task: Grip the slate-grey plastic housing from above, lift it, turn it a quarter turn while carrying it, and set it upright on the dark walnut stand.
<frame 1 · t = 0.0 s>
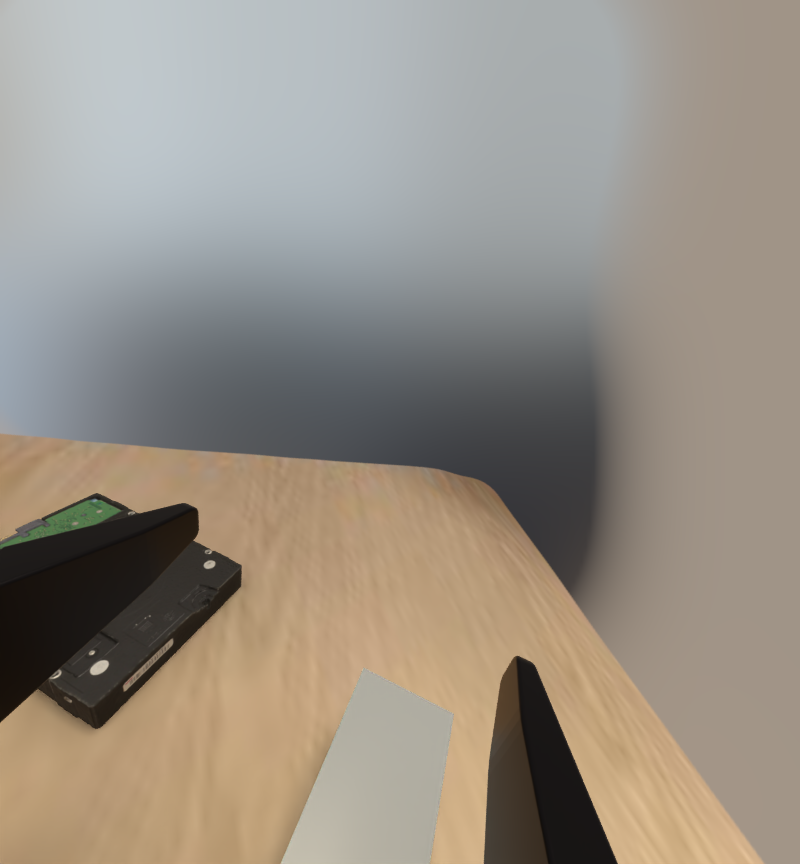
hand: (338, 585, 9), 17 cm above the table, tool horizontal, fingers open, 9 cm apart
disk drive: (101, 600, 24), on the table
housing: (349, 852, 16), on the table
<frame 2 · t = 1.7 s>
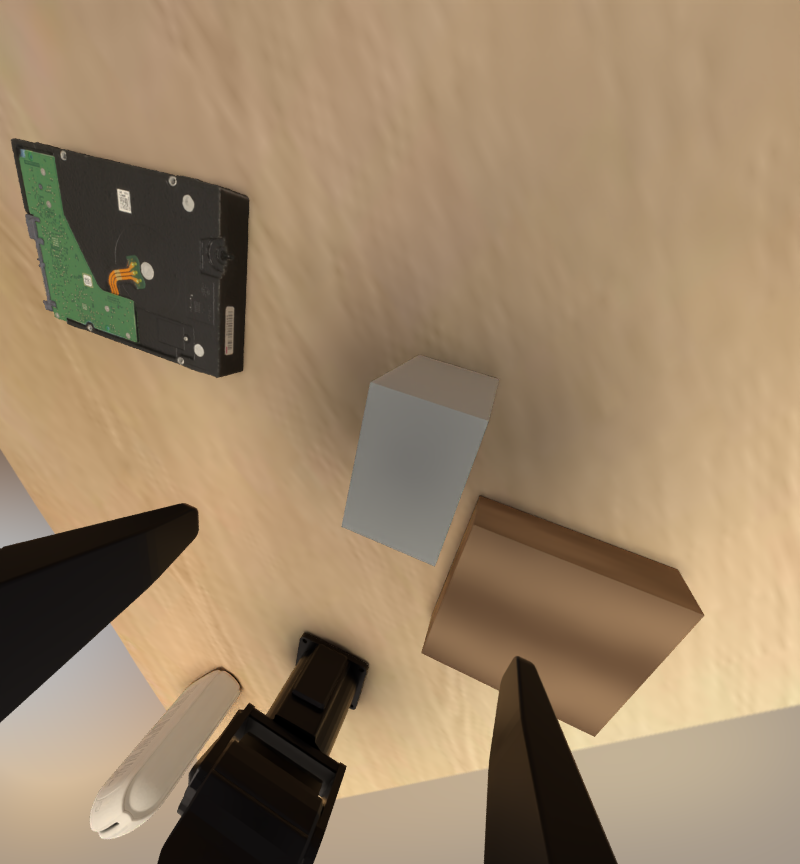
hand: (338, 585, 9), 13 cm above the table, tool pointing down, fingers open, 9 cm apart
photo printer: (216, 685, 40), on the table
disk drive: (161, 266, 23), on the table
housing: (440, 424, 20), on the table
stand: (535, 596, 22), on the table
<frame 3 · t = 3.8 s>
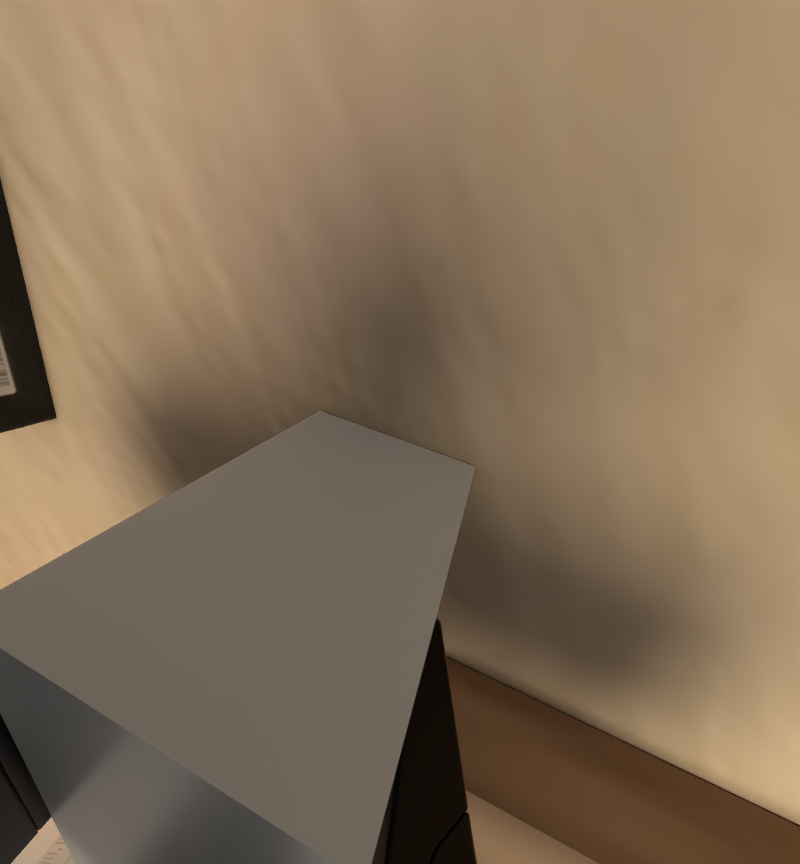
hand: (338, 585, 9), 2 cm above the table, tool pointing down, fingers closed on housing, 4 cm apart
photo printer: (126, 801, 31), on the table
housing: (369, 536, 11), on the table, touching gripper
stand: (546, 815, 13), on the table
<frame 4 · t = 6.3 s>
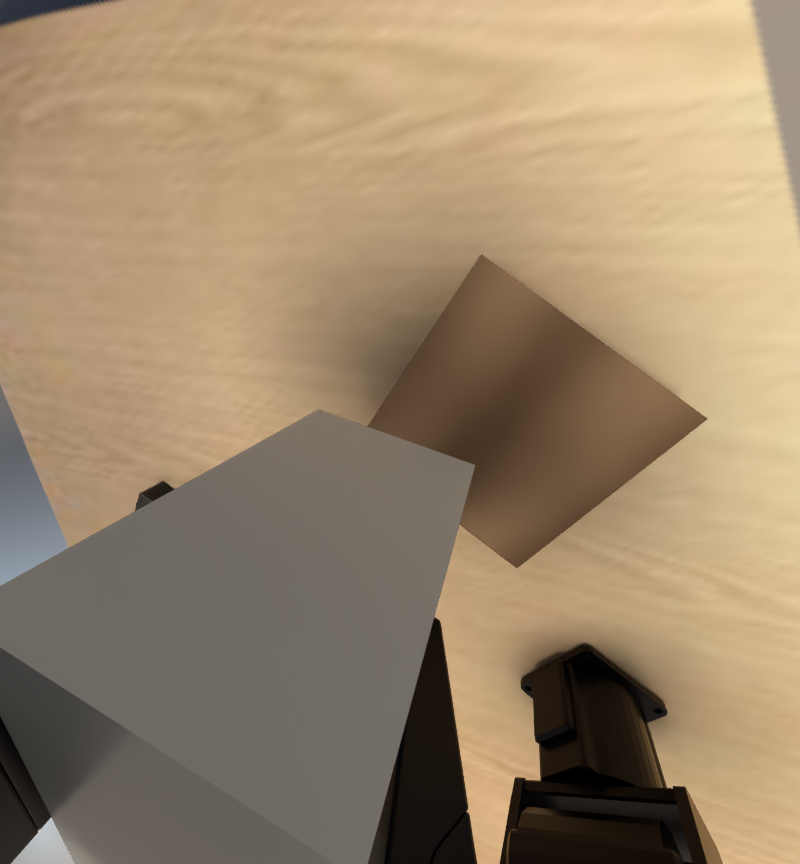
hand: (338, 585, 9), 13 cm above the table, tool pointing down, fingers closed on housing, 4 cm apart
disk drive: (196, 557, 34), on the table
housing: (369, 535, 11), point 11 cm above the table, touching gripper
stand: (504, 414, 19), on the table
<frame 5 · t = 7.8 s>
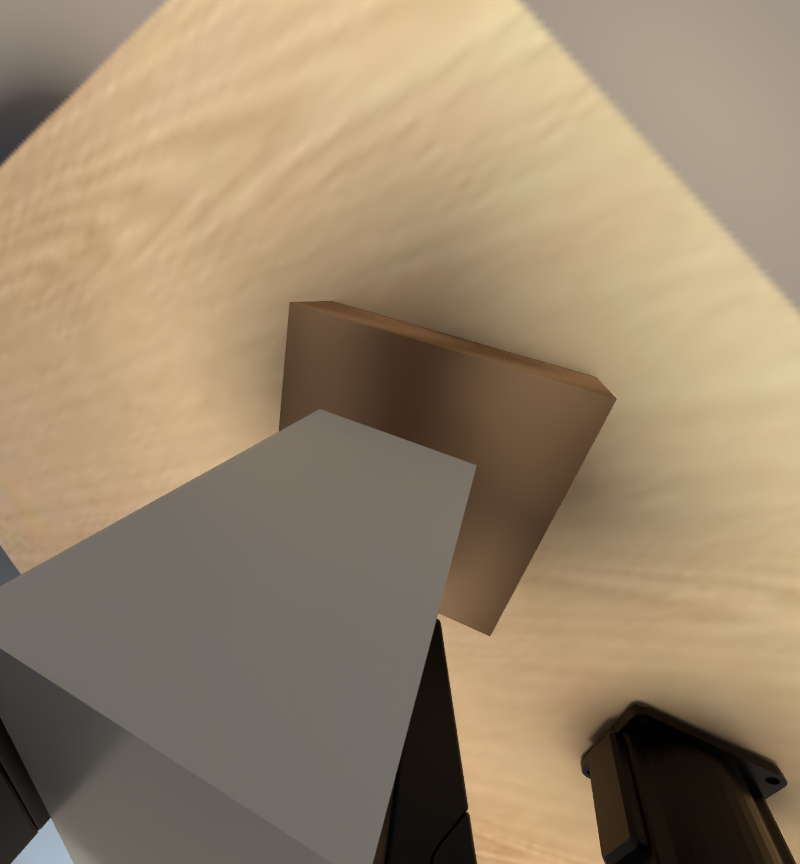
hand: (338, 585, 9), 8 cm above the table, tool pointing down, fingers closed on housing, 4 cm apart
housing: (369, 535, 11), point 6 cm above the table, touching gripper
stand: (419, 453, 16), on the table
when the fingers open (6 cm above the table, at t = 9.0 s): housing drops 1 cm, resting on stand.
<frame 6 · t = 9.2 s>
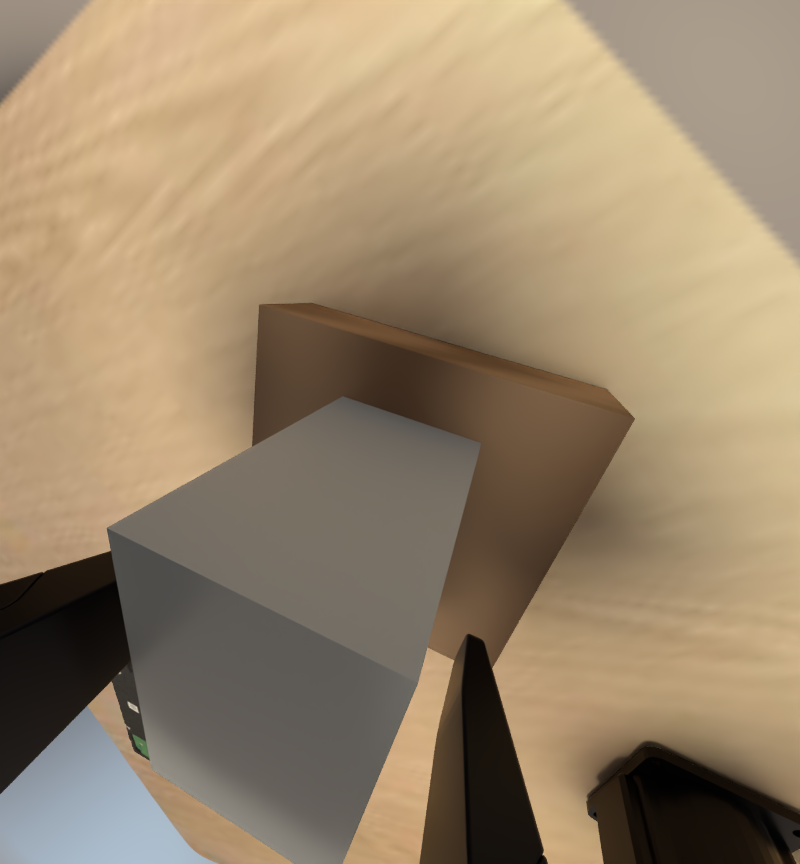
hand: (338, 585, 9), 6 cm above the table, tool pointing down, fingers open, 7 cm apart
disk drive: (194, 696, 30), on the table
housing: (385, 509, 12), point 3 cm above the table, touching stand
stand: (410, 471, 15), on the table
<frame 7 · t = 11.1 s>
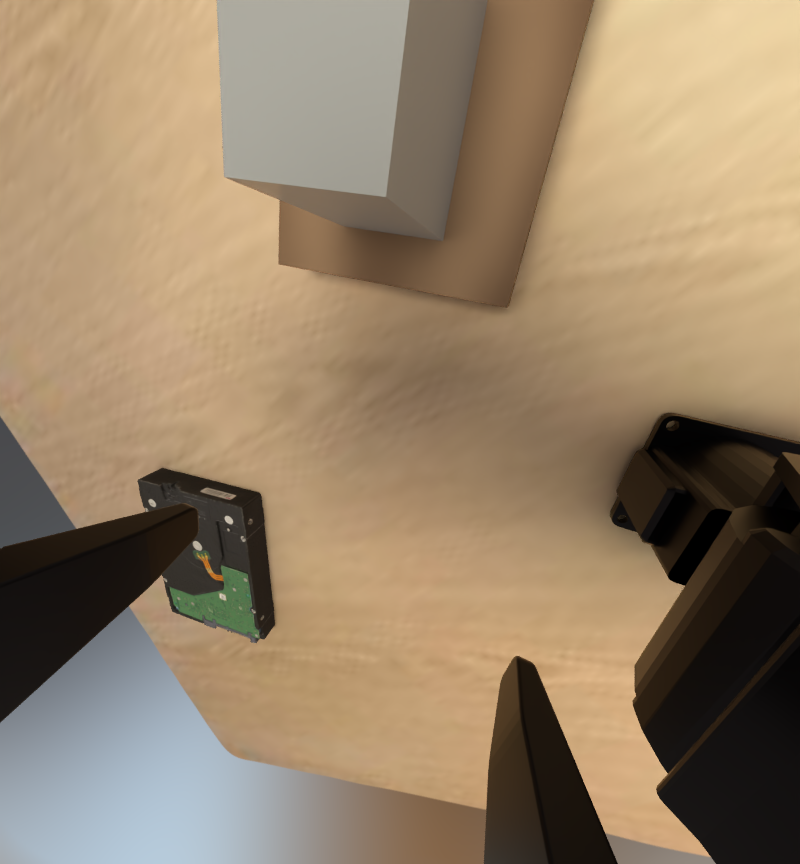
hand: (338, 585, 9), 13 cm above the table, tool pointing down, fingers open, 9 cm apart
disk drive: (226, 545, 31), on the table
housing: (405, 130, 13), point 3 cm above the table, touching stand
stand: (423, 158, 16), on the table
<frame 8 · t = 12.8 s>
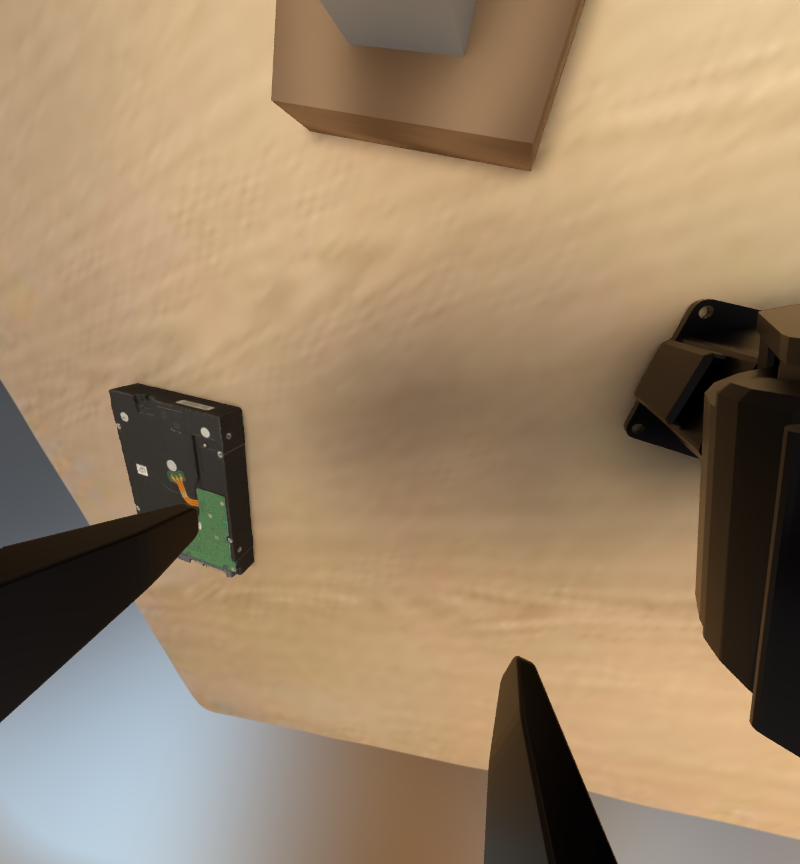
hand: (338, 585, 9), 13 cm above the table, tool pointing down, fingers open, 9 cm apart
disk drive: (205, 474, 29), on the table
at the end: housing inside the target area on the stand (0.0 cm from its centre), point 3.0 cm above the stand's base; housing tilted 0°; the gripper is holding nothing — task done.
